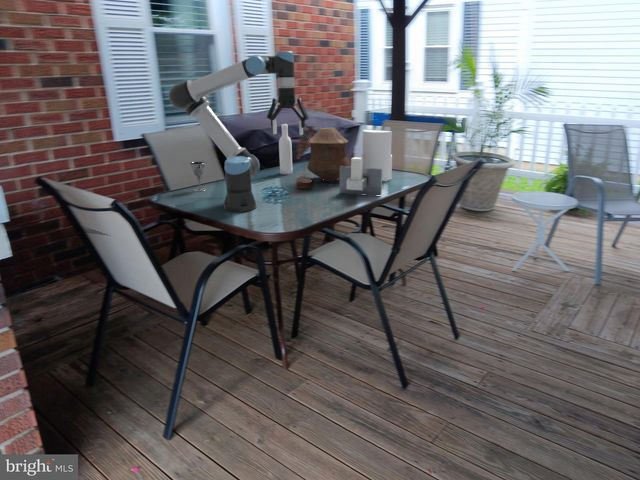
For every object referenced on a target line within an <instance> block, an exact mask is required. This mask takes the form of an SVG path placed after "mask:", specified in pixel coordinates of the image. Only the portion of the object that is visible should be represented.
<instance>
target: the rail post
mask: <svg viewBox="0 0 640 480" xmlns="http://www.w3.org/2000/svg"><path fill="white" fill-rule="evenodd" d="M350 162H351V166H350V167H351V180H354V181H362V163H363V158H362V157H356V156H355V157H352V158H351V160H350Z"/></svg>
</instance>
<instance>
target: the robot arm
mask: <svg viewBox="0 0 640 480" xmlns="http://www.w3.org/2000/svg"><path fill="white" fill-rule="evenodd" d="M294 57H295V56H294V52H293V51H291V50H290V51H289V50H281V51H280V50H279V51H277V52H276V55H273V56H272V55H268V56H266V55H258V54H254V55H252V56H251V55H250V56H249V57H248V58H246V59H244V60H241V61H238V62H237V63H233V64H232V65H228V66H226V67H224V68H222V69H219V70H217V71H215V72H213V73H210V74H207V75H205V76H202V77H199V78H197V79H195V80H193V81H192V80H191V79H190V80H189V79H188V80H186V81H184V82H179V83H176V84H174V85H173V86H171V88H170V89H169V91H168V100H169V103H170V104H171V105H172V106H173V107H174V108H175V109H178V110H181V111H182V110H183V111H185V112H186V113H187V115H188V116H189V117H191V118H194V119H195V120H196V121H197V122H198V123H199V125H200V126H201V128H202V129H204V131H205V132H206V134H207V135H208V136H209V138H210V139H211V140H212V141H213V142H214V144H215V145H216V147H218V149H219V150H220V151H221V152H222V154H223V155H224V156H225V157H226V159H225V161H224V175H225V189H226V194H225V199H224V203H223V209H224V211H226V212H231V213H244V212H249V211H252V210H255V209H256V208H257V202H256V199H255V196H254V193H253V191H252V190H253V189H252V179H254V178H255V177H256V176H258V173H259V171H260V168H261V167H260V161H259V159H258V158H257V157H256V156H255V155H254V154H251V153H250V152H249V151H248V149H247V148H246V147H241V146H240V145H239V143H238V142H237V140H236V139H235V137H233V135H232V134H231V133H230V131H229V130H228V128H226V126H225V125H224V124H223V123H222V121H221V120H220V118H219V117H218V116H217V115H216V114H215V112H214V111H213V109H212V108H211V107H210V100H209V99H208V98H207V96H209V95H211V94H213V93H216V92H218V91H221V90H223V89H226V88H228V87H231V86H233V85H236V84H238V83H240V82H243V81H245V80H249V79H251V78H253V77H256V76H258V75H271V74H277V86H278V88H277V89H278V92H277V93H278V97H273V98H272V99H271V101H272V103H271V105H270V108H269V110H268V113H267V115H266V118H267V119H269V120H270V126H271V128H272V135H276V134H278V127H277V124H278V123H277V119H276V118H277V117H278V115H279V114H280V112H281V111H282V110H283V109H291V110H292V111H293V112H294V114H296V116H297V117H298V118H299V121H298V125H299V127H298V128H299V136H303V135H304V129H305V127H306V123H305V122H306V120H308V119H309V117H310V116H309V115H308V113H307V110H306V108H305V106H304V104H303V100H302V98H301V97H299V98H298V97H297V98H296V88H295V86H296V85H295V61H294V60H295V58H294ZM277 103H279V105H278V106H277ZM296 104H297V105H296ZM297 106H298V107H297ZM276 107H277V108H276ZM298 108H299V109H298Z"/></svg>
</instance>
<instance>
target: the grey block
mask: <svg viewBox="0 0 640 480" xmlns="http://www.w3.org/2000/svg"><path fill="white" fill-rule="evenodd" d="M382 184H383V182H382V168H365V167H362V181H354V180H351V166H350V167H348V166H340V177H339V194H342V193H348V194H347V195H355V194H366V195H365V196H368V195H381V194H382V193H383V192H382V191H383V190H382V188H383V185H382ZM381 196H382V195H381Z"/></svg>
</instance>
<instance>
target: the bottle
mask: <svg viewBox="0 0 640 480" xmlns="http://www.w3.org/2000/svg"><path fill="white" fill-rule="evenodd" d="M288 127H289V126H288V124H287V123H282V124H281V137H280V138H279V139H278V140H279V141H278V152H279V156H278V157H279V174H280V175H291V174H293V172H294V171H293V150H292V149H293V148H292V147H293V146H292V139H291V137H290V136H289V130H288V129H289V128H288Z"/></svg>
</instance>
